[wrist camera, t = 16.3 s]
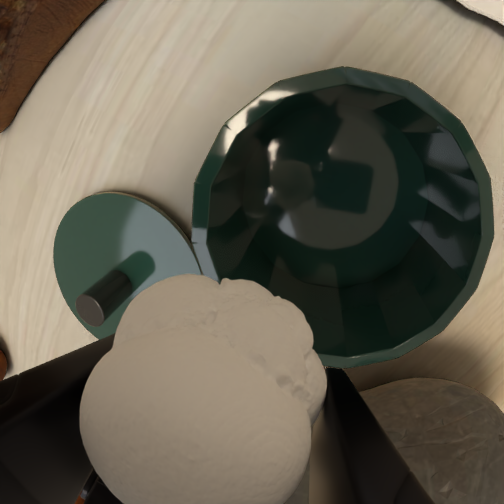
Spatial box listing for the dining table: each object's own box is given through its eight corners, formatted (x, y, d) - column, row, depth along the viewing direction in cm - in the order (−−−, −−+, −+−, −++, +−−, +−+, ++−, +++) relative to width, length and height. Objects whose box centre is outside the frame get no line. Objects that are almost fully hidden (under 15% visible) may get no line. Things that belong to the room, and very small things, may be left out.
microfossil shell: (327, 244, 7) (340, 475, 2) (321, 407, 9) (308, 574, 4) (145, 248, 8) (-14, 389, 3) (184, 398, 10) (118, 536, 5)
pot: (405, 304, 20) (436, 376, 13) (226, 275, 22) (188, 341, 15) (448, 120, 15) (516, 120, 9) (245, 81, 17) (206, 53, 10)
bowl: (419, 479, 27) (429, 580, 14) (251, 464, 30) (221, 581, 16) (522, 348, 19) (593, 473, 6) (301, 310, 22) (275, 527, 8)
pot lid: (207, 366, 25) (187, 411, 20) (73, 327, 26) (42, 357, 22) (216, 200, 20) (186, 223, 15) (55, 184, 21) (9, 199, 17)
